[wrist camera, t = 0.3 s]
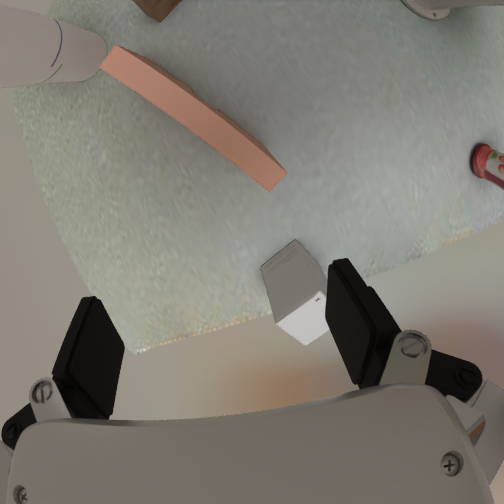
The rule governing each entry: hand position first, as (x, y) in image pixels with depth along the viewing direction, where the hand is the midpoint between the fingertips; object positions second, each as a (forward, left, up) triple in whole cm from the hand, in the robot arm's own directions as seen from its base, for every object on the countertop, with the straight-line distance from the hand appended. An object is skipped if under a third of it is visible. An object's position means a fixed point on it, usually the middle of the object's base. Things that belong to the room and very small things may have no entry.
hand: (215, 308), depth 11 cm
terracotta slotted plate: (-3, -5, -29) cm, 30 cm away
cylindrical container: (0, -23, -29) cm, 37 cm away
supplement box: (+7, +21, -29) cm, 37 cm away
